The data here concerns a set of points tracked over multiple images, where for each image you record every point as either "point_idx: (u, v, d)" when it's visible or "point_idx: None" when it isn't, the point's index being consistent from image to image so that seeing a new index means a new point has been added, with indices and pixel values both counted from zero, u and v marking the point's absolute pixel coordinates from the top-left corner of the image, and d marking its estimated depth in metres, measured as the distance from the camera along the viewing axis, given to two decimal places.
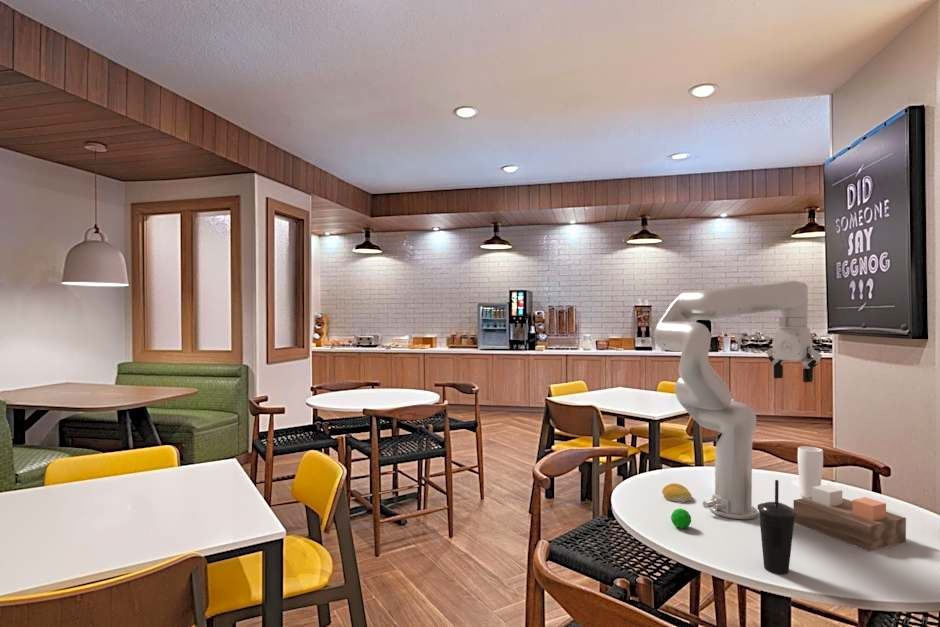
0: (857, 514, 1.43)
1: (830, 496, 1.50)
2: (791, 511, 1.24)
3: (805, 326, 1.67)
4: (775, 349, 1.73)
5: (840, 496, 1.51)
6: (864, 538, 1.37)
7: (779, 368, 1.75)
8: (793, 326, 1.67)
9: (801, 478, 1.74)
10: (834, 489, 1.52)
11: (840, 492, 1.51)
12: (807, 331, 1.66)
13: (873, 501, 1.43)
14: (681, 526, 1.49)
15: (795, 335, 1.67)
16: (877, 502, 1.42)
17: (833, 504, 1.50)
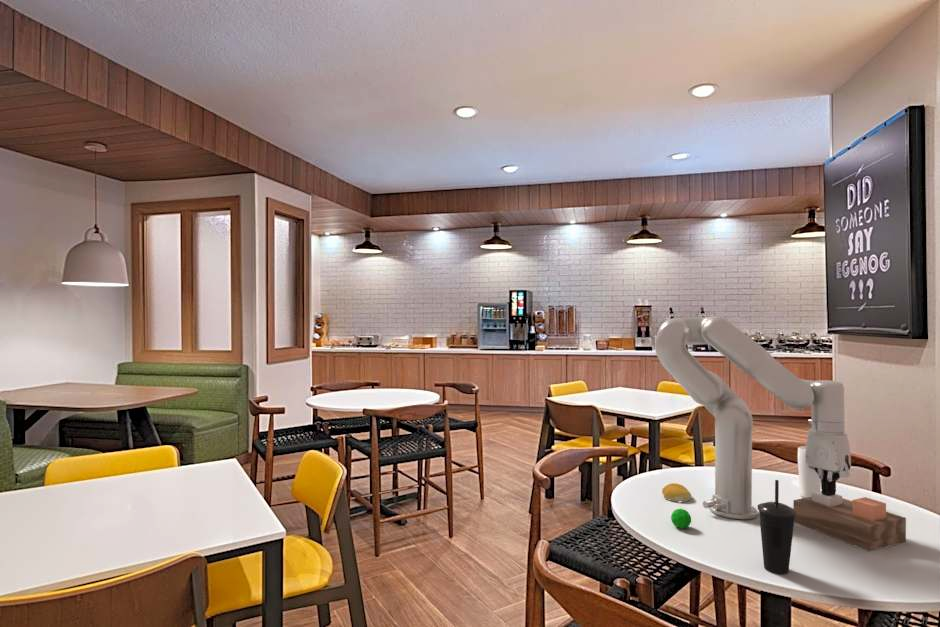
0: (857, 514, 1.43)
1: (830, 502, 1.50)
2: (791, 511, 1.24)
3: (842, 432, 1.49)
4: (808, 454, 1.55)
5: (840, 502, 1.51)
6: (864, 538, 1.37)
7: None
8: (829, 432, 1.49)
9: (801, 478, 1.74)
10: (834, 495, 1.52)
11: (840, 498, 1.51)
12: (845, 438, 1.48)
13: (873, 501, 1.43)
14: (681, 526, 1.49)
15: (831, 442, 1.49)
16: (877, 502, 1.42)
17: None
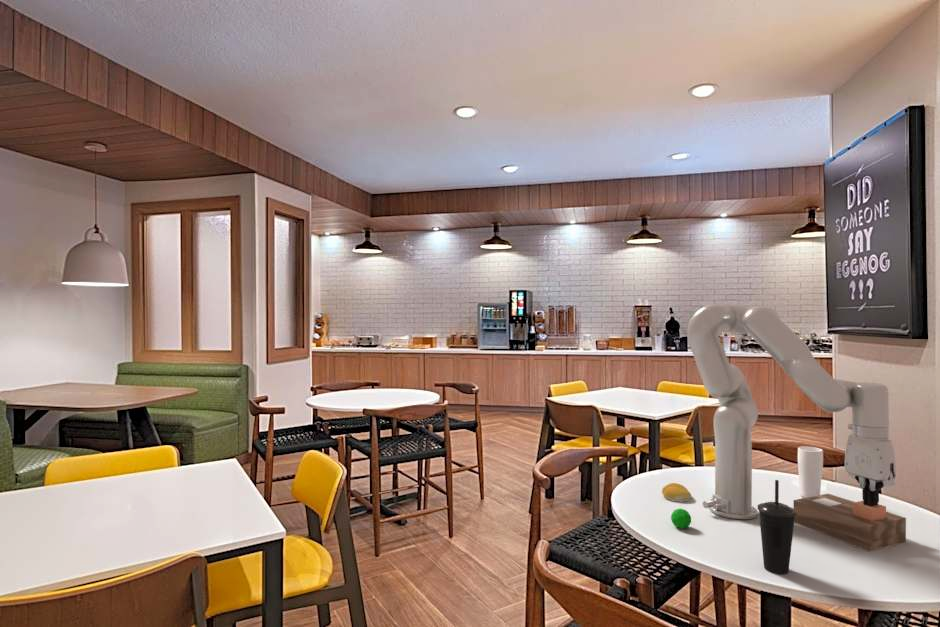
0: None
1: None
2: (791, 511, 1.24)
3: (887, 438, 1.39)
4: (848, 461, 1.45)
5: None
6: (864, 538, 1.37)
7: None
8: (872, 438, 1.39)
9: (801, 478, 1.74)
10: (834, 502, 1.52)
11: None
12: (890, 445, 1.38)
13: None
14: (681, 526, 1.49)
15: (875, 449, 1.39)
16: (877, 505, 1.42)
17: None
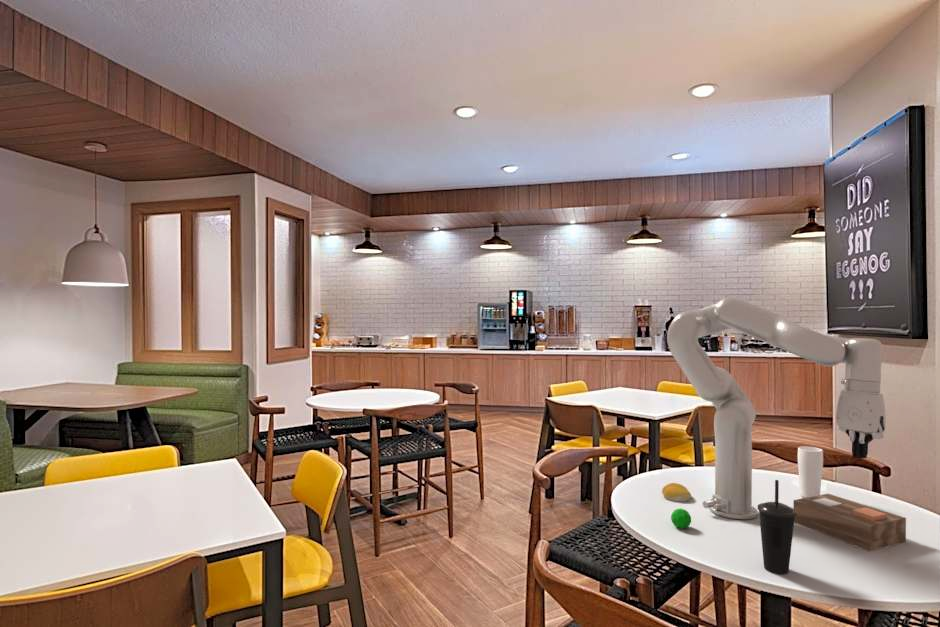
0: None
1: None
2: (791, 511, 1.24)
3: (878, 392, 1.42)
4: (839, 415, 1.48)
5: None
6: (864, 538, 1.37)
7: None
8: (863, 391, 1.42)
9: (801, 478, 1.74)
10: (834, 502, 1.52)
11: None
12: (880, 398, 1.41)
13: (873, 511, 1.43)
14: (681, 526, 1.49)
15: (866, 402, 1.41)
16: (877, 513, 1.42)
17: None
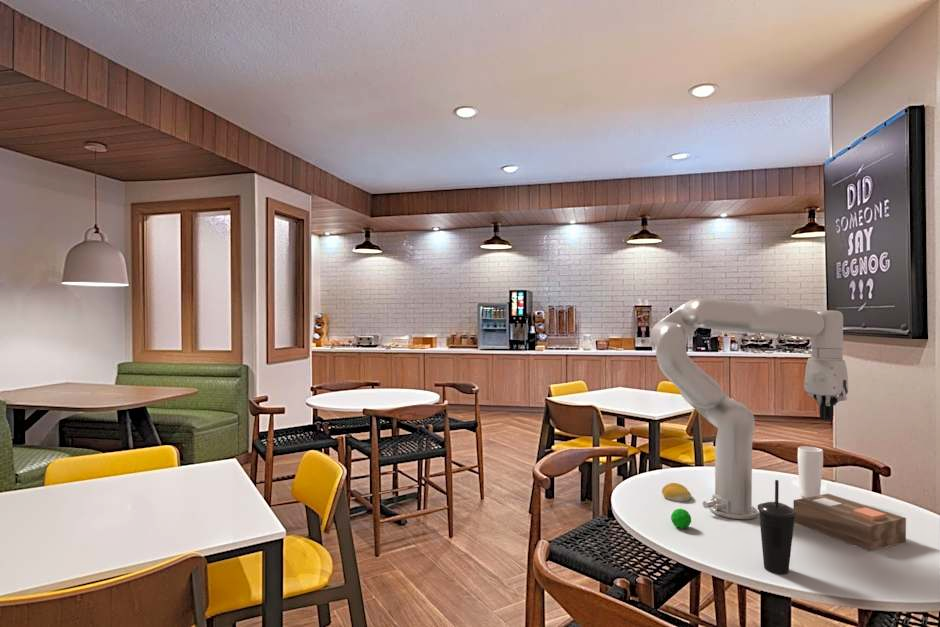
0: None
1: None
2: (791, 511, 1.24)
3: (841, 358, 1.56)
4: (807, 381, 1.61)
5: None
6: (864, 538, 1.37)
7: None
8: (827, 358, 1.56)
9: (801, 478, 1.74)
10: (834, 502, 1.52)
11: None
12: (843, 364, 1.55)
13: (873, 511, 1.43)
14: (681, 526, 1.49)
15: (830, 368, 1.55)
16: (877, 513, 1.42)
17: None
